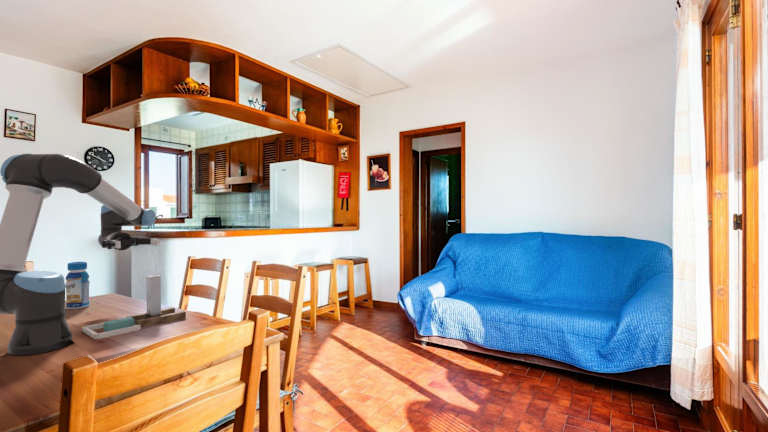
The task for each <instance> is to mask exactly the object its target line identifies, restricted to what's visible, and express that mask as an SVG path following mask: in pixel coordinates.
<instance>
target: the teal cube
mask: <svg viewBox="0 0 768 432" xmlns="http://www.w3.org/2000/svg"><path fill="white" fill-rule="evenodd" d="M103 323H104V328H103V332H108V331H112V330H117V329H121V321H120V320H117V318H116V319H111V320H106V321H103Z"/></svg>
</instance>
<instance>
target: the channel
mask: <svg viewBox="0 0 768 432" xmlns="http://www.w3.org/2000/svg"><path fill="white" fill-rule="evenodd" d="M146 313H147V312H142V313H137V314H131V315H126V317H132V318H134V326H136V325H141V329H144V328H149V327H153V326H154V327H155V326H157V325H162V324H167V323H171V322H176V321H179V320H180V321H181V320H184V319H185V320H186V319H187V314H186V313H187V312H186V311H184V310H181V311H178V312H177V311H176V308H175V307H173V306H172V307H167V308H163V309H162V308H161V313H162V315H161V316H156V317H152V318H147V319H146Z"/></svg>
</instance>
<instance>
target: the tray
mask: <svg viewBox="0 0 768 432" xmlns="http://www.w3.org/2000/svg"><path fill="white" fill-rule="evenodd" d="M99 329H104V322H100V323H94V324H91V325H86V326H85V325H83V326H82V327H81V332H82V333H83V334H85V335H87V336H89V338H92V339H94V340H101V339H105V338H109V337H115V336H118V335H123V334H127V333H132V332H136V331H141V330H142V328H141V325H136V326H131V327H126V328H122V329H117V330H112V331H108V332H105V331H103V332H99V333H98V332H96V331H95V330H99Z"/></svg>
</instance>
